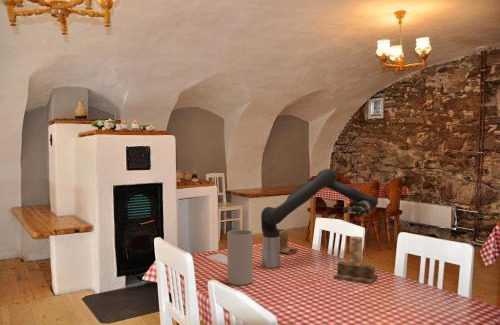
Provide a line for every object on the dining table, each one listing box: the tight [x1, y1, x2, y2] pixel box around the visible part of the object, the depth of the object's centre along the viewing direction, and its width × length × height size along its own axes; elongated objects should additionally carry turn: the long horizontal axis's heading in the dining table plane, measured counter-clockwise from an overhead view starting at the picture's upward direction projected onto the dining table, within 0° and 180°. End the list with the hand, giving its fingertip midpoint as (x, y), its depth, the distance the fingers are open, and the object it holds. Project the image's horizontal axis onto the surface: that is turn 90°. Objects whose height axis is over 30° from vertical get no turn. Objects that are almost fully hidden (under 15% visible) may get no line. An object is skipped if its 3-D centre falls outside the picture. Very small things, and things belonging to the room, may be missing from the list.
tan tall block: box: [348, 235, 363, 266], centre depth 229 cm, size 5×5×14 cm
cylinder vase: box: [226, 229, 254, 286], centre depth 224 cm, size 12×12×25 cm
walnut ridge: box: [333, 261, 378, 285], centre depth 229 cm, size 19×12×7 cm, turn 60°
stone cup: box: [277, 228, 299, 255], centre depth 282 cm, size 15×12×15 cm
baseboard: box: [204, 251, 228, 266], centre depth 262 cm, size 31×3×12 cm
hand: (352, 212), depth 241 cm, fingers open, 8 cm apart
